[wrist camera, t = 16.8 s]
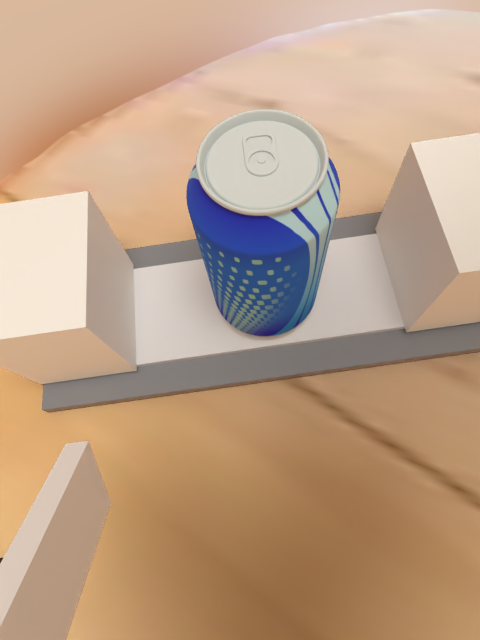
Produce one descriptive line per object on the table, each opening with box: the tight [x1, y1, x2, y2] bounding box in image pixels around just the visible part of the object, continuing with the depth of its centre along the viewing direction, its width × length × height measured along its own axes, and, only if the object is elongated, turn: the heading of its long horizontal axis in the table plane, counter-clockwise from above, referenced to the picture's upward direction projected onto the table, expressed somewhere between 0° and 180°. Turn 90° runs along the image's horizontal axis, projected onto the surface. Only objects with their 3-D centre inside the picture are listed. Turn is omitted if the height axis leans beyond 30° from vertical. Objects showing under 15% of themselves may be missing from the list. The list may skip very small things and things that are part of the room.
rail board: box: [0, 133, 480, 412], centre depth 31 cm, size 38×14×12 cm, turn 97°
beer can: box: [187, 109, 340, 337], centre depth 28 cm, size 8×8×16 cm
